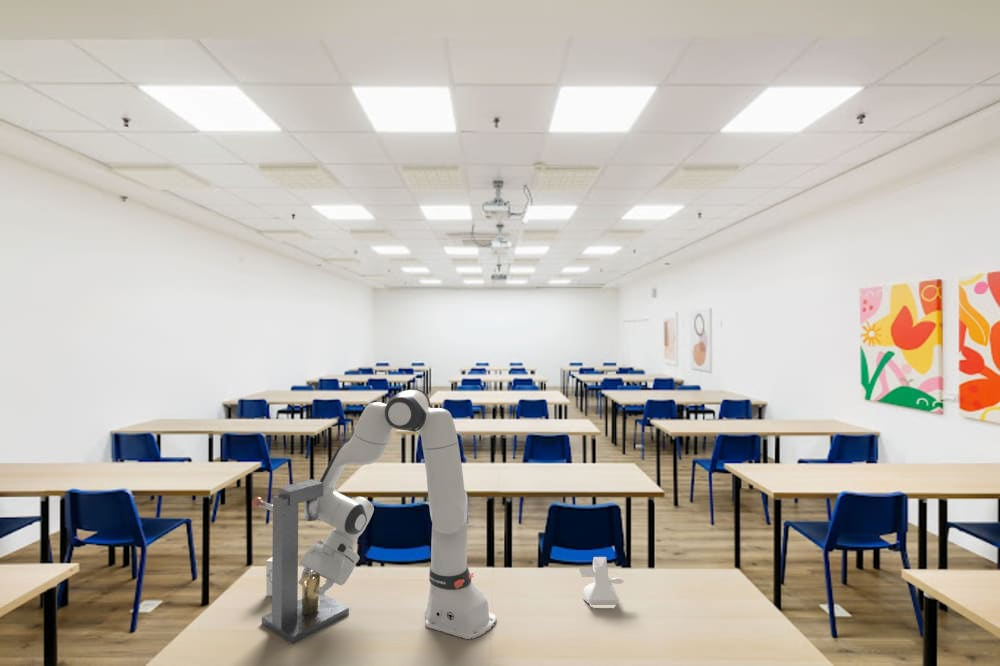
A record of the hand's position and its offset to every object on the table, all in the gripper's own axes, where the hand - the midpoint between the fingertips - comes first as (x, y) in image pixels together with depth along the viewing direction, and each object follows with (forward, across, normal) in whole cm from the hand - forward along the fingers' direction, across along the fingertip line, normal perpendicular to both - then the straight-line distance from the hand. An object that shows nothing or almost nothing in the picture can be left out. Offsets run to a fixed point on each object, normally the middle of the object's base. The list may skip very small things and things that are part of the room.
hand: (309, 589), depth 157 cm
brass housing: (+4, 0, +5) cm, 6 cm away
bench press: (+7, -5, +5) cm, 10 cm away
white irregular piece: (-38, +67, +50) cm, 92 cm away
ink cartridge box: (+4, -22, +8) cm, 24 cm away
